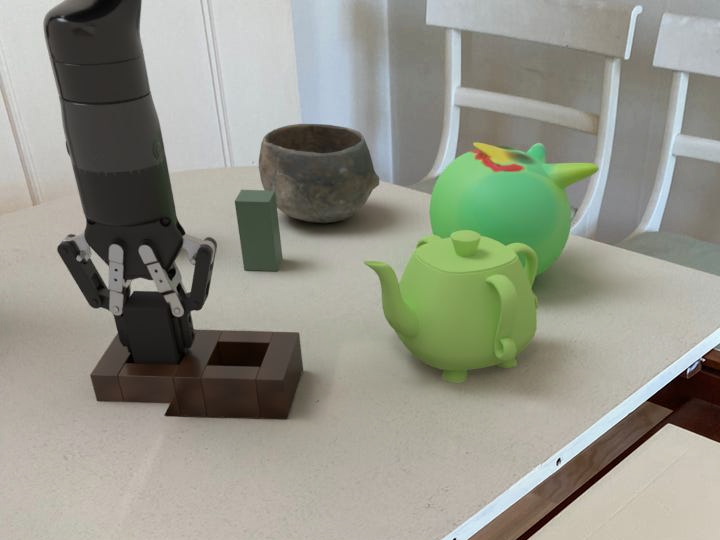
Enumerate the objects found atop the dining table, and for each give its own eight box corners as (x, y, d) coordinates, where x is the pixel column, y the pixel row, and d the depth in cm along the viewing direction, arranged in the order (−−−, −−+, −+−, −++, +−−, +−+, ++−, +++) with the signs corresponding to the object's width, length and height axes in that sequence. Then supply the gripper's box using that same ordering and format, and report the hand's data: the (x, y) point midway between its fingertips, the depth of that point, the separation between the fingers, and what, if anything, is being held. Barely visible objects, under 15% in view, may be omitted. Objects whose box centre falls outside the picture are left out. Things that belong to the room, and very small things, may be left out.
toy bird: (410, 256, 121) (407, 127, 111) (532, 240, 126) (540, 115, 116) (466, 313, 109) (468, 174, 99) (598, 293, 114) (613, 159, 104)
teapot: (505, 409, 93) (512, 279, 85) (368, 384, 96) (361, 256, 88) (547, 339, 105) (557, 218, 96) (424, 318, 108) (422, 199, 99)
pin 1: (140, 390, 92) (121, 308, 87) (151, 370, 95) (133, 290, 90) (182, 391, 92) (166, 309, 87) (192, 371, 95) (176, 291, 90)
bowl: (263, 201, 135) (254, 122, 128) (374, 197, 137) (371, 119, 130) (265, 238, 125) (255, 154, 118) (385, 232, 127) (382, 150, 120)
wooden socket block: (100, 414, 91) (89, 374, 88) (130, 364, 98) (121, 327, 95) (287, 419, 91) (283, 380, 88) (303, 369, 98) (299, 332, 96)
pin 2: (244, 270, 117) (234, 200, 111) (250, 257, 120) (241, 189, 114) (277, 271, 117) (269, 201, 111) (282, 258, 120) (275, 190, 114)
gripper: (214, 143, 83) (242, 334, 94) (47, 138, 83) (96, 330, 94) (194, 170, 77) (227, 370, 89) (15, 166, 77) (71, 366, 89)
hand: (159, 348), depth 92 cm, fingers closed on pin 1, 4 cm apart
